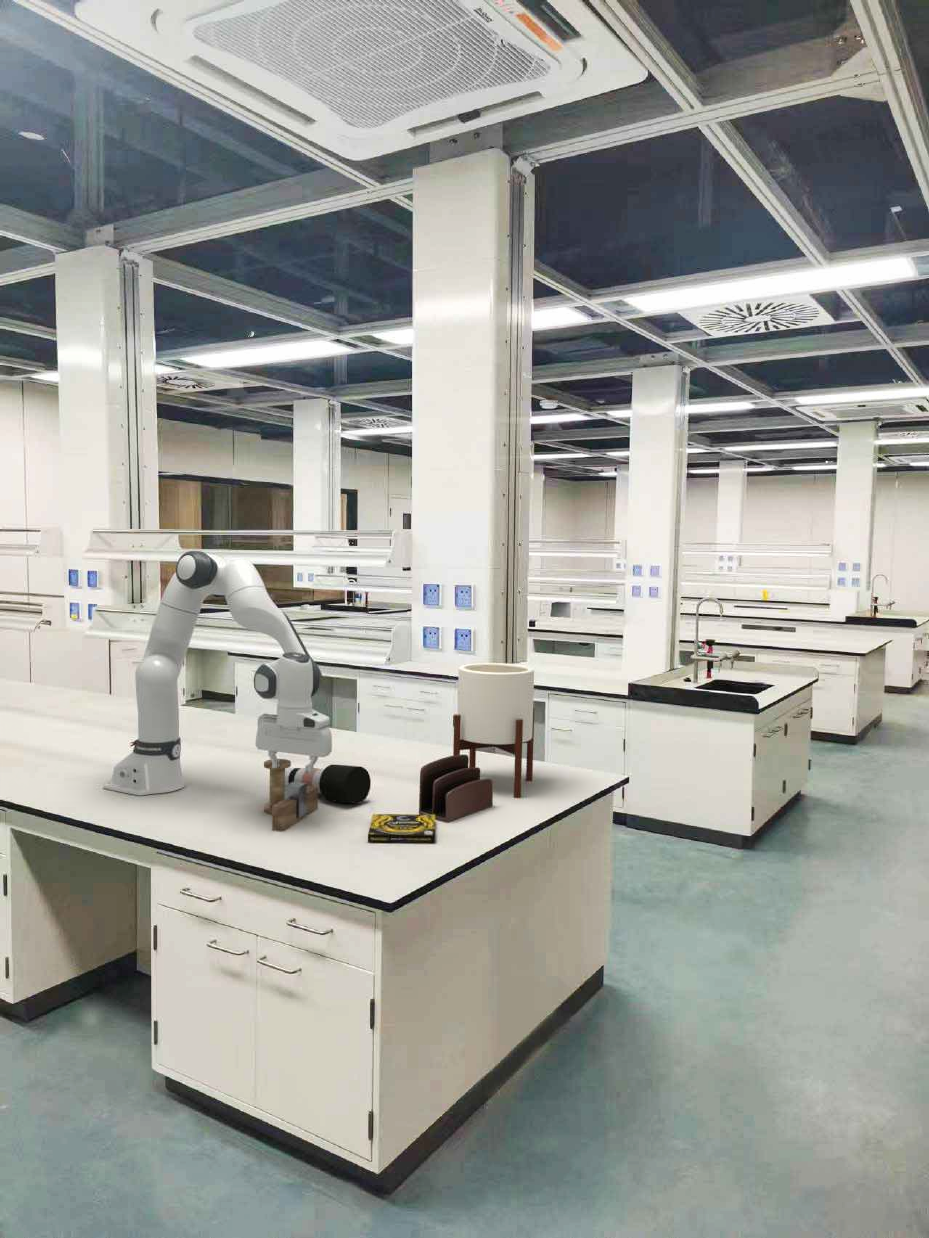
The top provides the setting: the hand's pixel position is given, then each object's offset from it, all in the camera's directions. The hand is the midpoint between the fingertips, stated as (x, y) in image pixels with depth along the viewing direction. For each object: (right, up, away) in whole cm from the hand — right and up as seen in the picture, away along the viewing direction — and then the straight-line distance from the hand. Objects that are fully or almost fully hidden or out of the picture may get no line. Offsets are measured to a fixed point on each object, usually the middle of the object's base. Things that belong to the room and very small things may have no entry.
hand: (292, 770), depth 216 cm
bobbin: (-6, -12, +9) cm, 16 cm away
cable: (+2, -12, +24) cm, 27 cm away
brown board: (+1, -13, +2) cm, 13 cm away
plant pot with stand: (+53, -12, +37) cm, 65 cm away
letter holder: (+42, -13, +12) cm, 46 cm away
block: (0, -12, +2) cm, 12 cm away
